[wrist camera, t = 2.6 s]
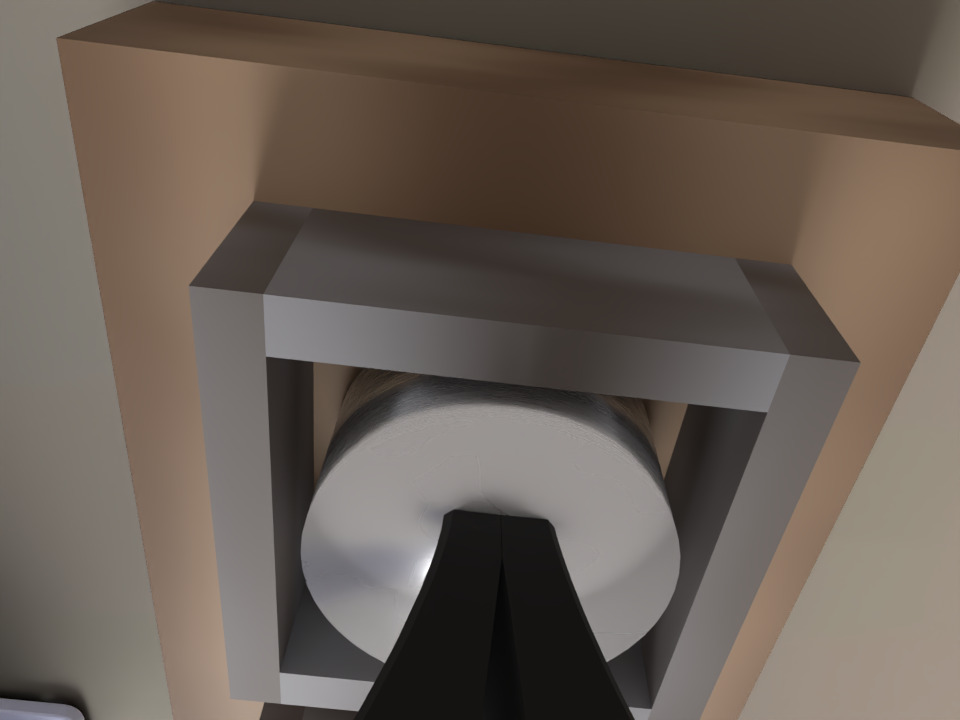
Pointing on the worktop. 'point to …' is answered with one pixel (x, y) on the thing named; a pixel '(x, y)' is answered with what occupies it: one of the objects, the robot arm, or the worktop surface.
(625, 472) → the steel plunger
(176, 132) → the press panel
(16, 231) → the worktop surface
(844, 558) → the worktop surface
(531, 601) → the robot arm
